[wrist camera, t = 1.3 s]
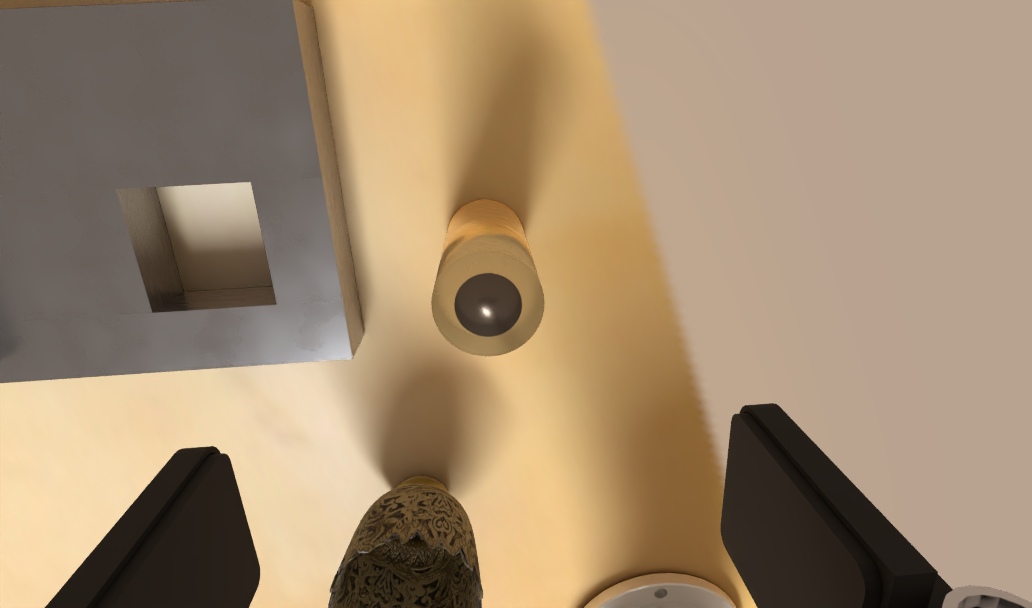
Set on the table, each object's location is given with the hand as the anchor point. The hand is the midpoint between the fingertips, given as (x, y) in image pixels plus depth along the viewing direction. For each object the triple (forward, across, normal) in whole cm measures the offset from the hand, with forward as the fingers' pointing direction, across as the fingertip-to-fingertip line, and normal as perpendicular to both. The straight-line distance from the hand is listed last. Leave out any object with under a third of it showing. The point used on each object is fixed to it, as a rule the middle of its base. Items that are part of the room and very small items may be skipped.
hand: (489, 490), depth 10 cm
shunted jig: (+20, +17, -3) cm, 26 cm away
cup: (+20, +5, +16) cm, 26 cm away
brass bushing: (+20, 0, 0) cm, 20 cm away
